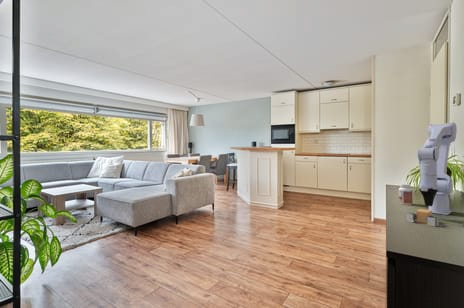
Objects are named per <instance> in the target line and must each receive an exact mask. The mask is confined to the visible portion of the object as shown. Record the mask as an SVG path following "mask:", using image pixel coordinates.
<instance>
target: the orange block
mask: <svg viewBox="0 0 464 308" xmlns="http://www.w3.org/2000/svg"><path fill="white" fill-rule="evenodd" d="M415 213H416V221H415V222H418V223H424V224H427V216H430V215H432V216H433V213H432V210H428V209H424V208H418V209H417V210H416V211H415Z"/></svg>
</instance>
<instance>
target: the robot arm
mask: <svg viewBox="0 0 464 308" xmlns="http://www.w3.org/2000/svg"><path fill="white" fill-rule="evenodd" d="M457 130H458V129H457V124H456V123H455V122H454V121H452V122H446V123H445V122H444V123H432V124H431V123H430V125H428V130H427V132H428V135H429V138H427V139H426V141H425V142H424V145H423V146H422V147H420V149H418V151H417V158H418V164H419V168H420V169H419V171H420V173H419V174H420V175H419V177H420V181H419V182H420V183H417V186H418V187H420V189H419V193H420V194H421V195H422V198H423V202H424V205H425V206H426V207H428V209H427V210H432V214H439V215H445V216H448V215H449V214H451V213H452V212H453V210H450V197H449V195H451V194H452V193H453V191H454V180H453V179H452V177H451V176H450V175H448V174H447V166H448V161H449V160H448V159H449V151H450V146H451V144H452V143H453V142H455V141H456V139H457V133H458V131H457Z"/></svg>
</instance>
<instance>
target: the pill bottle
mask: <svg viewBox="0 0 464 308" xmlns="http://www.w3.org/2000/svg"><path fill="white" fill-rule="evenodd" d="M398 203H399V204H400V205H403V206H412V205H413V189H412V188H411V184H410V183H400V184H399V188H398Z"/></svg>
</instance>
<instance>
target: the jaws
mask: <svg viewBox="0 0 464 308" xmlns="http://www.w3.org/2000/svg"><path fill="white" fill-rule="evenodd" d="M413 213H414V214H416V212H411V211H409V212H407V213H405V215H404V221H405V222H407V223H414V222H417V221H416V220H414V216H413ZM430 216H431V217H427V223H426V224H427V225H426V226H431V227H436V226H437V227H439V226H440V219H439V218H438V217H439V216H437V215H433V214H432V215H430Z"/></svg>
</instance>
